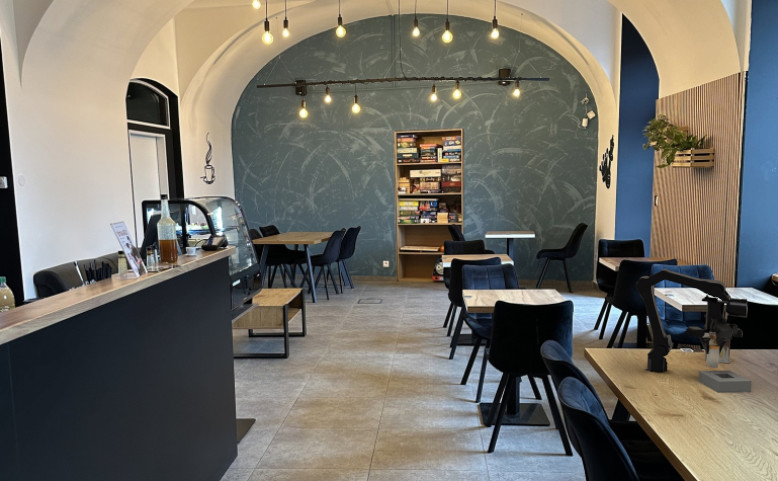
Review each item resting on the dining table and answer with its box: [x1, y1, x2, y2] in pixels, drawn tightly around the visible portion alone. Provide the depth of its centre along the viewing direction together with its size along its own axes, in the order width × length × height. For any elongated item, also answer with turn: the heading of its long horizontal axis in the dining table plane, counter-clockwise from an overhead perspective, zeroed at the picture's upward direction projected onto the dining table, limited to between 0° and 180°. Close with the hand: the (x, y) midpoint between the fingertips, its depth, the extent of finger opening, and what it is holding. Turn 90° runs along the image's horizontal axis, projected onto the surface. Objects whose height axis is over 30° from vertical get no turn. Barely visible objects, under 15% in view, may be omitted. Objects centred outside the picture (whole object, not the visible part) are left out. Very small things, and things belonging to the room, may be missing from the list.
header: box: [698, 370, 752, 394], centre depth 207 cm, size 12×12×5 cm
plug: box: [705, 344, 720, 369], centre depth 215 cm, size 4×4×8 cm
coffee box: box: [704, 334, 731, 364], centre depth 241 cm, size 9×6×16 cm
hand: (712, 353), depth 215 cm, fingers closed on plug, 4 cm apart
